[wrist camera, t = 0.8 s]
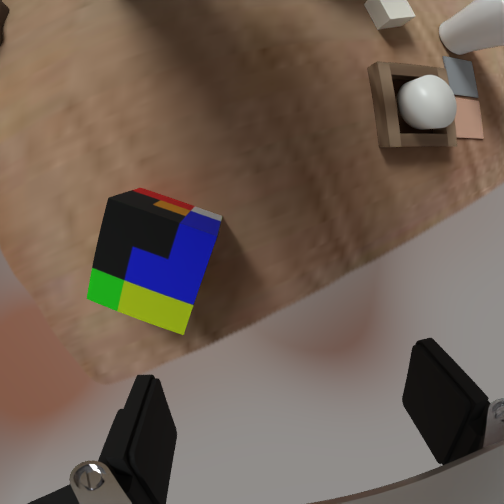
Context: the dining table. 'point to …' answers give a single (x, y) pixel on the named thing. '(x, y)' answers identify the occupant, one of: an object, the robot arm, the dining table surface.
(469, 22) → the drinking glass
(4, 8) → the decorative dome
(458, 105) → the pad
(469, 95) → the pad mid
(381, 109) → the button frame
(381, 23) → the white cube
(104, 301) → the puzzle toy
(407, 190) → the dining table surface
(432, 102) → the dome button
